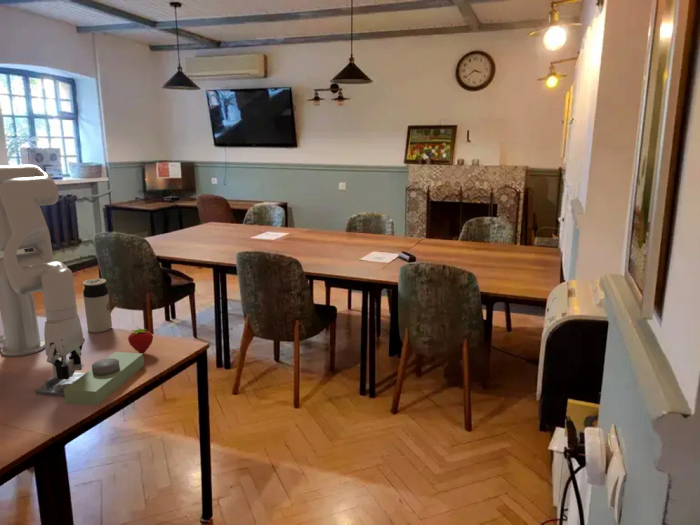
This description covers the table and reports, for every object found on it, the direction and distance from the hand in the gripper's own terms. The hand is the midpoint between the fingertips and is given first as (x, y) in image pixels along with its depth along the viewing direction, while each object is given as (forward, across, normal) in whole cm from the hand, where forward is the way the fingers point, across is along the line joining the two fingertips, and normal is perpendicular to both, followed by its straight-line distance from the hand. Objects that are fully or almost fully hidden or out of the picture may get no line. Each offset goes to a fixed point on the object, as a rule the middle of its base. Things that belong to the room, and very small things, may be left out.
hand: (69, 373), depth 145 cm
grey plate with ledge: (+4, 0, 0) cm, 4 cm away
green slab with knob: (+4, -3, +9) cm, 10 cm away
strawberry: (+4, -23, +9) cm, 25 cm away
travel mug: (+4, -41, -17) cm, 45 cm away
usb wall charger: (+1, 0, 0) cm, 1 cm away
